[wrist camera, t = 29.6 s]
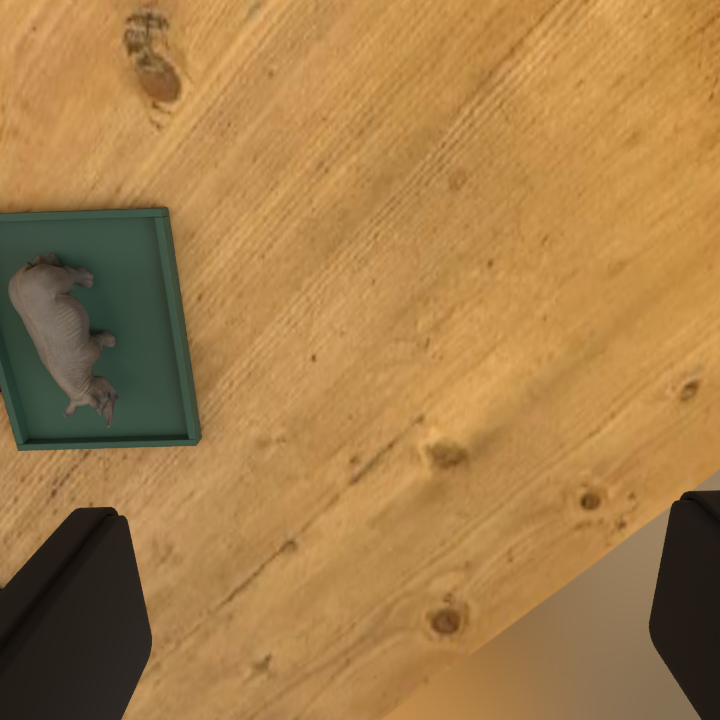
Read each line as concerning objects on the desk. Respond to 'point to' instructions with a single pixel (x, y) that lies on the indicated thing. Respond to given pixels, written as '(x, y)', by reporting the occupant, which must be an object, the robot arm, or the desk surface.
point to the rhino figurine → (63, 331)
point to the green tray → (106, 313)
